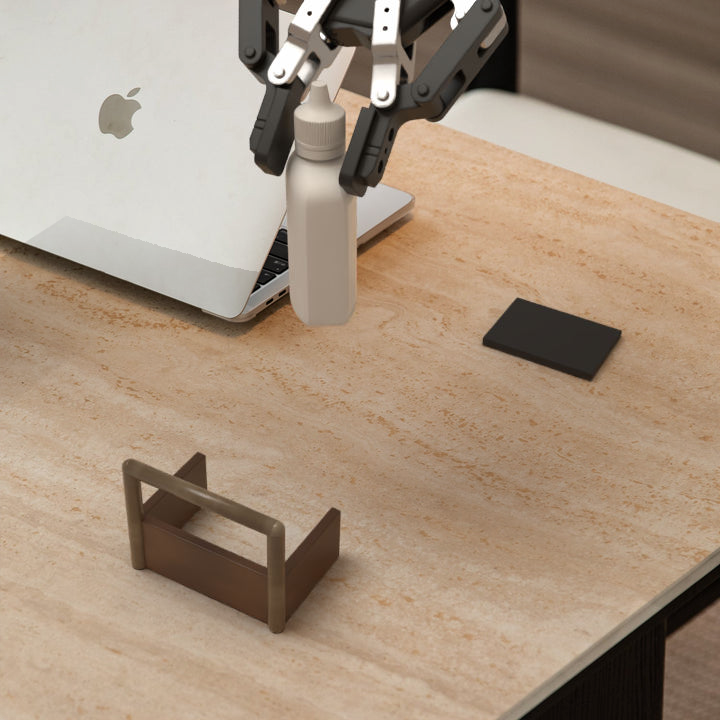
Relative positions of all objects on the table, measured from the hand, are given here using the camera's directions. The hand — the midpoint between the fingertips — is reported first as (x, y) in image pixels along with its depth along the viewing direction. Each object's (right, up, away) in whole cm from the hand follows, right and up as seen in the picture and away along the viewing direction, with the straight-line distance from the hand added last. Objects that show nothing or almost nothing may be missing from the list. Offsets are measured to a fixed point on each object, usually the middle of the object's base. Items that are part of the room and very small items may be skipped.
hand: (309, 178), depth 58 cm
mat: (+16, -7, +28) cm, 33 cm away
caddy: (-4, -19, +11) cm, 22 cm away
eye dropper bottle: (0, -6, +6) cm, 8 cm away
